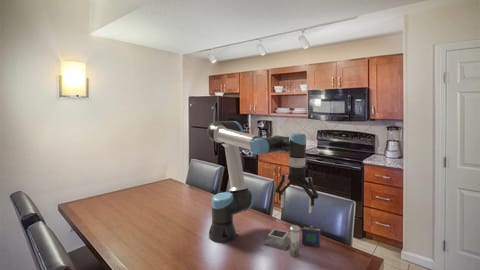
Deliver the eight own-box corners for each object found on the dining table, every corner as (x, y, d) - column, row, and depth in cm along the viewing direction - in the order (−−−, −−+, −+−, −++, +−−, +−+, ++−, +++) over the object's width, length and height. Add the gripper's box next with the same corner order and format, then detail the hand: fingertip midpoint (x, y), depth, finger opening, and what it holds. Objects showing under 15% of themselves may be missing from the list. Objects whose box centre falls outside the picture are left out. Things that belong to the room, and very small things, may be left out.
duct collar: (263, 244, 137) (263, 235, 137) (271, 235, 148) (272, 226, 148) (285, 250, 132) (285, 241, 131) (292, 240, 142) (292, 231, 142)
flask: (319, 245, 137) (320, 225, 136) (320, 247, 134) (320, 227, 133) (301, 243, 139) (302, 223, 138) (301, 245, 136) (302, 226, 135)
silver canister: (287, 255, 127) (288, 228, 125) (290, 251, 131) (291, 224, 130) (298, 258, 124) (298, 230, 123) (300, 253, 129) (301, 226, 128)
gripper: (269, 164, 126) (268, 207, 128) (323, 170, 115) (321, 217, 117) (274, 162, 133) (273, 202, 135) (325, 167, 122) (324, 211, 124)
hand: (295, 209), depth 126 cm, fingers open, 13 cm apart
